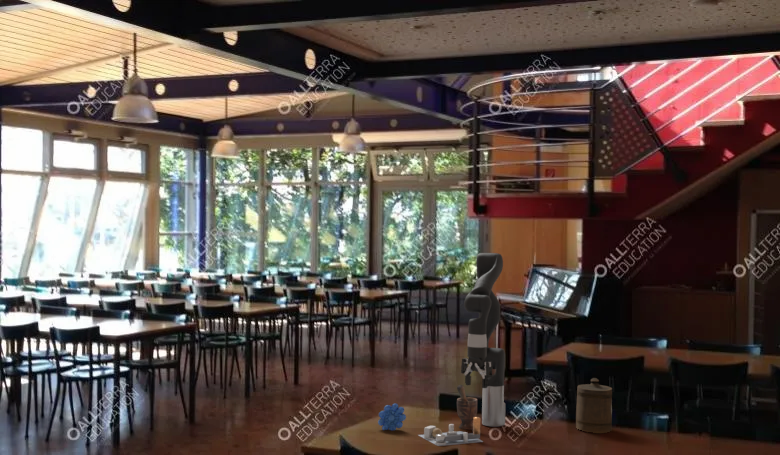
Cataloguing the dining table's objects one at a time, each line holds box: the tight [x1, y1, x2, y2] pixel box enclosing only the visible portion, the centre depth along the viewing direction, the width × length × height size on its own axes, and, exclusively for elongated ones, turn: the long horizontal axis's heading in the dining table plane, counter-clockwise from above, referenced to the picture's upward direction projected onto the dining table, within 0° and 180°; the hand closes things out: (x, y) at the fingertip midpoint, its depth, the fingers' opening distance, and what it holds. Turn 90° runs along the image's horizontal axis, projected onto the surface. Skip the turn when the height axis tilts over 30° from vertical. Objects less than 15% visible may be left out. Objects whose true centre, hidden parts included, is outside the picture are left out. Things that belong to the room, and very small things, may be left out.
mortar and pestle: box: [456, 384, 478, 432], centre depth 331 cm, size 12×9×20 cm
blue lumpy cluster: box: [377, 403, 407, 431], centre depth 327 cm, size 12×7×12 cm, turn 81°
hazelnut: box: [432, 427, 443, 438], centre depth 313 cm, size 4×4×4 cm
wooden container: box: [575, 377, 613, 434], centre depth 339 cm, size 15×15×22 cm
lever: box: [436, 416, 481, 442], centre depth 308 cm, size 19×4×8 cm, turn 114°
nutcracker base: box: [417, 423, 484, 447], centre depth 313 cm, size 20×18×6 cm
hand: (476, 386), depth 312 cm, fingers open, 8 cm apart
